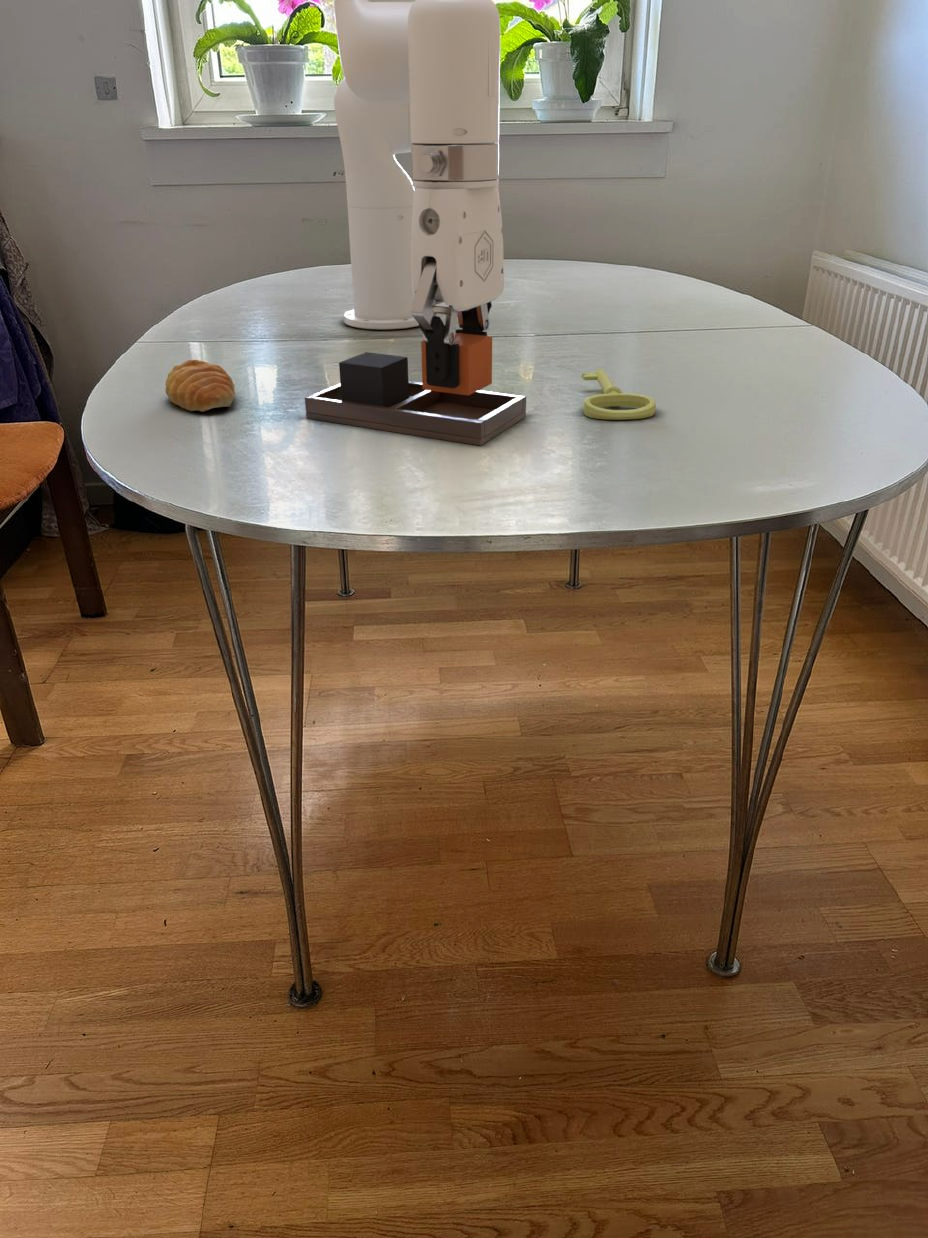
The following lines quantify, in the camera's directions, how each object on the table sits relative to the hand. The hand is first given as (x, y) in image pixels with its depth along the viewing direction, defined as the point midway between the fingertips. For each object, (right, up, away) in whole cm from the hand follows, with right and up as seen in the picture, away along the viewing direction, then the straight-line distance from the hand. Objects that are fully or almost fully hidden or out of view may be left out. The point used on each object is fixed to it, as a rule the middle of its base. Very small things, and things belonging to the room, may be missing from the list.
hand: (457, 377), depth 87 cm
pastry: (-27, 0, +10) cm, 29 cm away
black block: (-8, -1, +6) cm, 10 cm away
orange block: (0, -1, 0) cm, 1 cm away
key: (+16, -1, +8) cm, 18 cm away
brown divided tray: (-4, -3, +4) cm, 7 cm away
